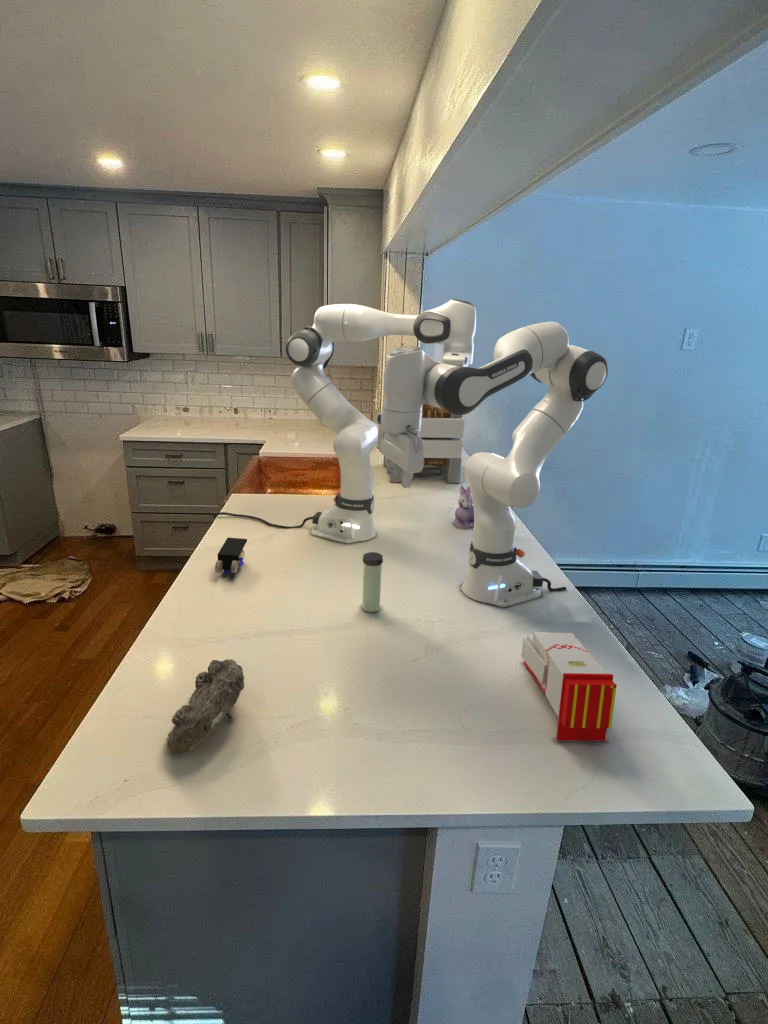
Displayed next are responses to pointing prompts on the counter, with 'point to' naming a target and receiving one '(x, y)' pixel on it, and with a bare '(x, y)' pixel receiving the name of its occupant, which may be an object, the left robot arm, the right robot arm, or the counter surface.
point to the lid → (372, 558)
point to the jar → (371, 588)
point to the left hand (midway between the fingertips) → (454, 403)
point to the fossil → (206, 705)
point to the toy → (571, 685)
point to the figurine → (464, 509)
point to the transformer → (439, 443)
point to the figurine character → (230, 556)
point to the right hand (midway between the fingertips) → (398, 481)
